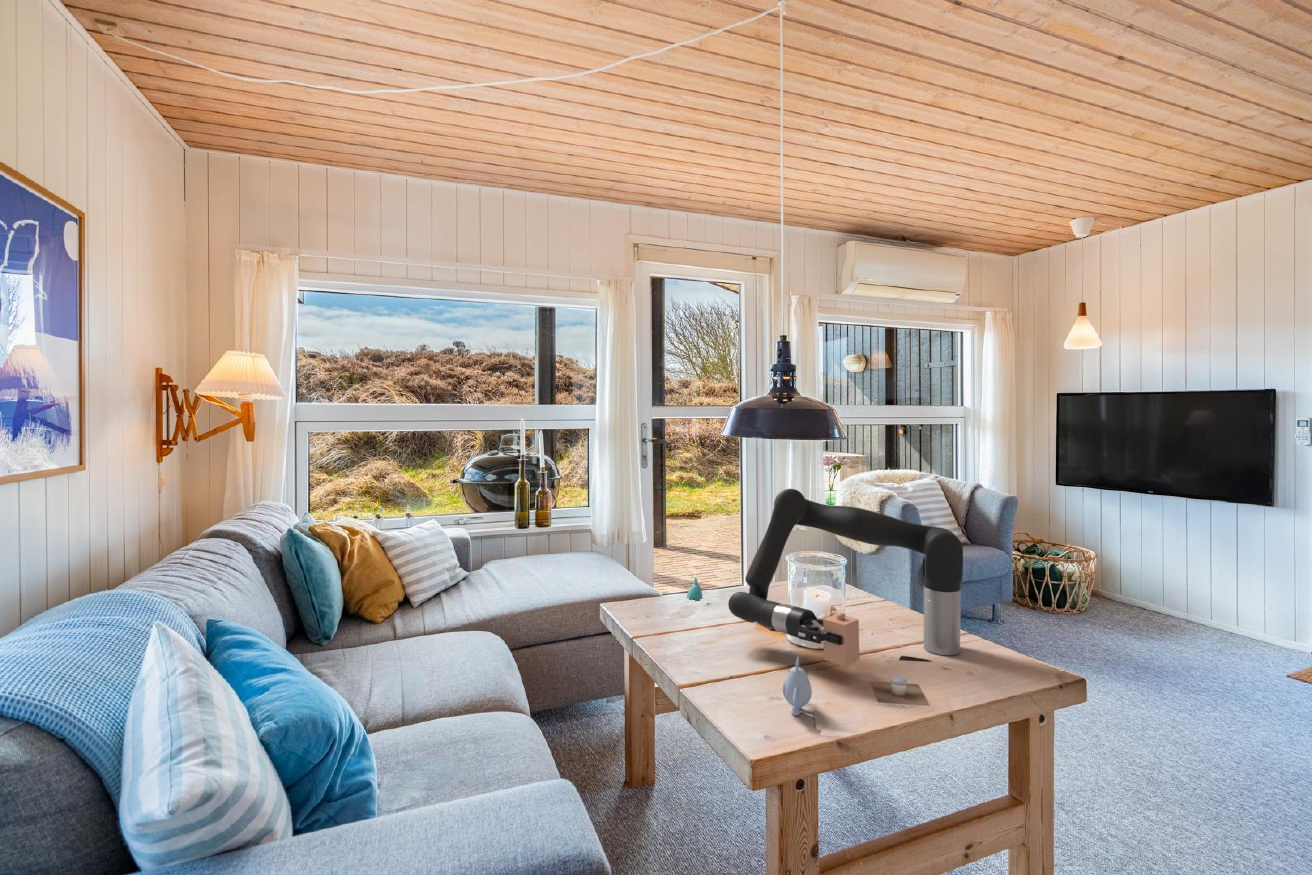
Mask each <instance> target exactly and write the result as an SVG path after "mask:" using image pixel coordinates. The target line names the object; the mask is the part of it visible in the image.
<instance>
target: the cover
mask: <svg viewBox="0 0 1312 875" xmlns="http://www.w3.org/2000/svg"><path fill="white" fill-rule="evenodd" d="M823 630H825V631H828V633H829V632H831V633H834V634H838V635H841V636H842V637H843V644H842V645H837V644H834V643H831V642H823V660H824V661H827V662H830V663H833V664H836V665H839V666H842V667H847V666H849V665H851V664H853V663H856V662H857V661H859V660H860V619H859V618H855V617H852V616H848V615H846V613H843V612H838V613H835V614H833V615H830V617H829V616H827V617H825V618H823Z"/></svg>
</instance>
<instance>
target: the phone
mask: <svg viewBox="0 0 1312 875" xmlns="http://www.w3.org/2000/svg"><path fill="white" fill-rule="evenodd" d="M898 661H902V662H903V661H904V662H905V661H906V662H921V663H922V662H923V663H933V660H931V659H925V658H920V657H914V656H908V655H901V656H899V660H898Z"/></svg>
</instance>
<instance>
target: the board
mask: <svg viewBox="0 0 1312 875" xmlns="http://www.w3.org/2000/svg"><path fill="white" fill-rule="evenodd" d="M869 682H870V684H871V687H872V690H873V693H874V695H875V698H876V701H877V703H883V704H884V703H888V704H902V705H915V706H916V705H918V706H931V705H930V703H929V700H928V699H927V698H926V696H925V694H924V692H923V690H922V689H921V686H920V685H919V684H918V683H907V684H906V695H904V696H898V695H894V694H893V693H892V692H891V681H890V682H888V681H875V680H874V681H873V680H871V681H869Z"/></svg>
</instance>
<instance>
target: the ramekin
mask: <svg viewBox="0 0 1312 875" xmlns="http://www.w3.org/2000/svg"><path fill="white" fill-rule="evenodd" d="M890 682H891V692H892V693H893V694H894V695H898V696H904V695H906V684H908V681H907V679H906V678H905V677H901V676H892V677H891V678H890Z"/></svg>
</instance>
